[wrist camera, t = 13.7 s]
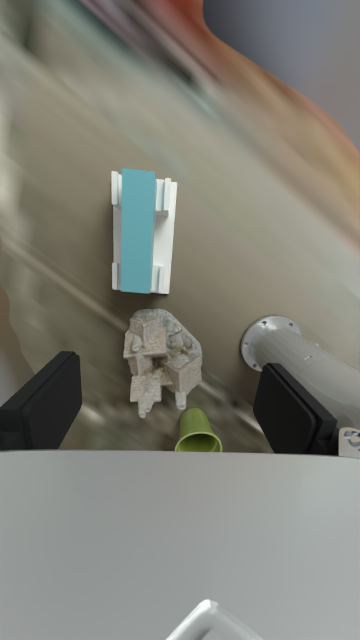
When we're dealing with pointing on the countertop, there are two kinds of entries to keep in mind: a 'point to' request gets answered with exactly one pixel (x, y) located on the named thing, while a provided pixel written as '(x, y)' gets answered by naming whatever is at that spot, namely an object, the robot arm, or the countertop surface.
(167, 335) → the grey irregular blocky piece
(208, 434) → the plant pot
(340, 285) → the countertop surface
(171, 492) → the robot arm
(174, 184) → the display cradle
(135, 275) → the teal rectangular stick
